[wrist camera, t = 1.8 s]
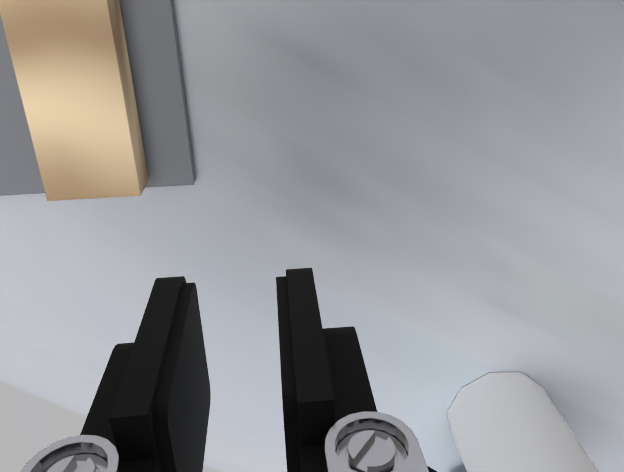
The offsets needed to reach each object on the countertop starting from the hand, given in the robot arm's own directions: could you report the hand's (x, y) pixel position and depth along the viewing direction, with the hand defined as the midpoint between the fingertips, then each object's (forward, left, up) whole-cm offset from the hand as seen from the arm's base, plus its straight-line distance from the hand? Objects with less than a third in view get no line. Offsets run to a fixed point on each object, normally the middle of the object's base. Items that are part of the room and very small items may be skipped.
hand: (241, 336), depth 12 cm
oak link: (+7, -5, -16) cm, 18 cm away
